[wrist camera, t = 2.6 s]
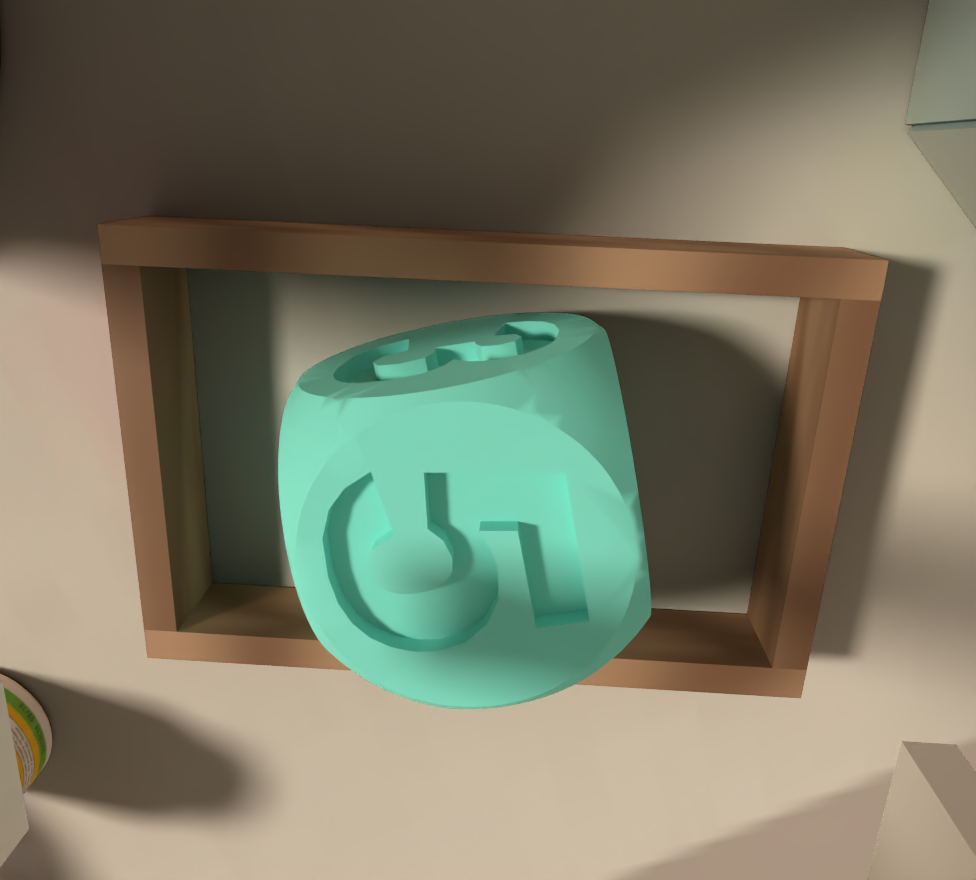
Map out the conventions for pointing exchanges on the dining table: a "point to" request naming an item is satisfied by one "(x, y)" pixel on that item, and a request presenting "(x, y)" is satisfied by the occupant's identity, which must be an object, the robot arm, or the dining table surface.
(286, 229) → the rectangular frame
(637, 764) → the dining table surface
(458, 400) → the decorative dice
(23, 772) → the supplement bottle
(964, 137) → the bowl
